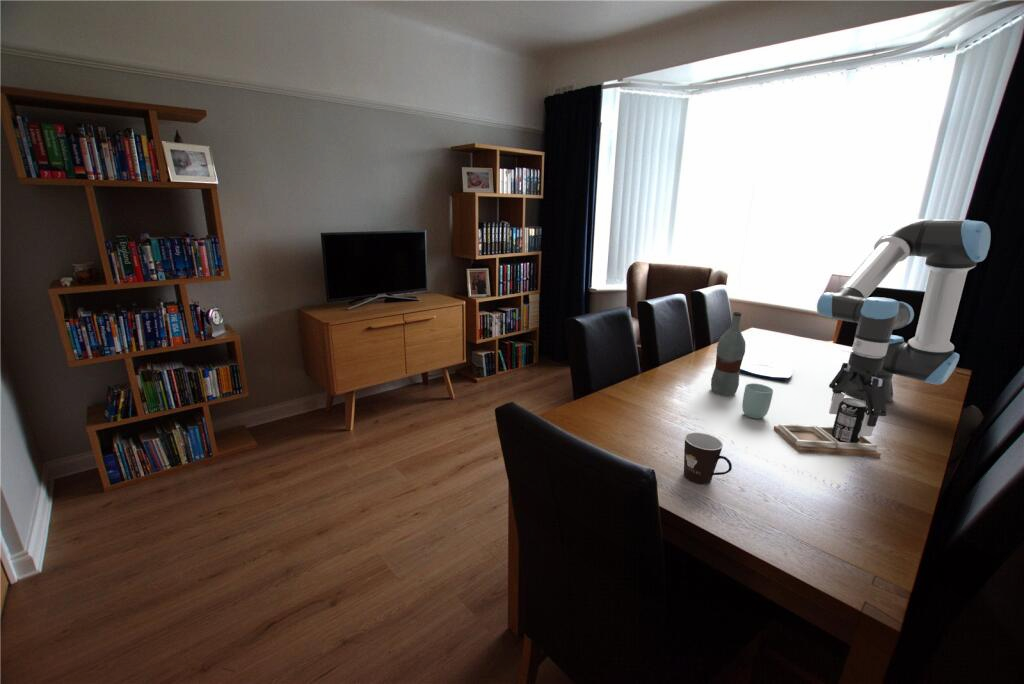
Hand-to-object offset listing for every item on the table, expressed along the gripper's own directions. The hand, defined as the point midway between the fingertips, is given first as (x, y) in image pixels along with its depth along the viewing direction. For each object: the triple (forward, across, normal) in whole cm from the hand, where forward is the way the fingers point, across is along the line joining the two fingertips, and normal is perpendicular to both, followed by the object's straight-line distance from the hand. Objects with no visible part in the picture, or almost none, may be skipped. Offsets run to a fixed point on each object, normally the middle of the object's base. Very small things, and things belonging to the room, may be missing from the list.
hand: (848, 424), depth 132 cm
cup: (+6, -16, -19) cm, 25 cm away
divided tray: (+6, 0, -6) cm, 8 cm away
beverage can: (+5, 0, 0) cm, 5 cm away
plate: (+7, -62, +6) cm, 63 cm away
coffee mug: (+6, +24, -50) cm, 56 cm away
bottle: (+6, -36, -21) cm, 42 cm away
